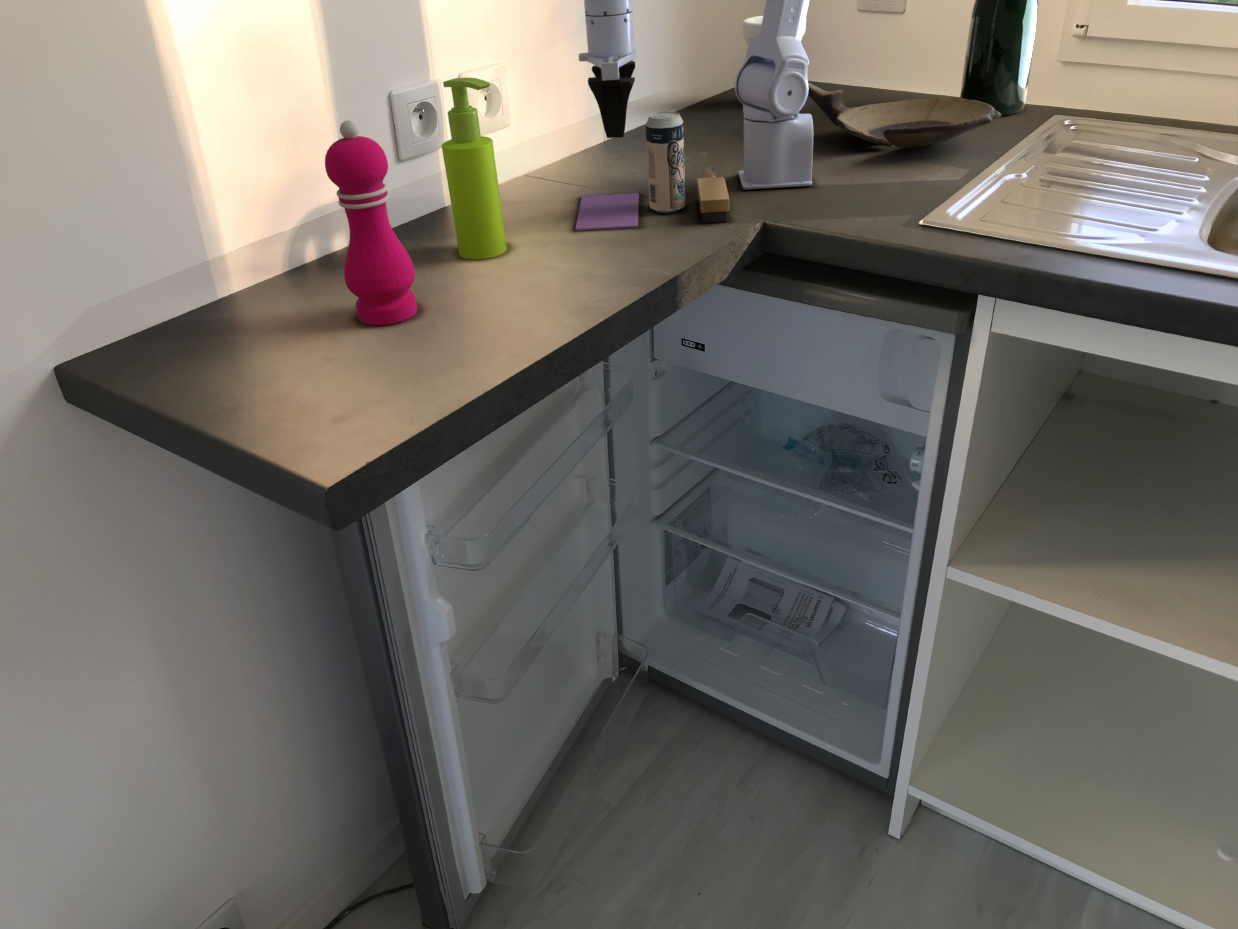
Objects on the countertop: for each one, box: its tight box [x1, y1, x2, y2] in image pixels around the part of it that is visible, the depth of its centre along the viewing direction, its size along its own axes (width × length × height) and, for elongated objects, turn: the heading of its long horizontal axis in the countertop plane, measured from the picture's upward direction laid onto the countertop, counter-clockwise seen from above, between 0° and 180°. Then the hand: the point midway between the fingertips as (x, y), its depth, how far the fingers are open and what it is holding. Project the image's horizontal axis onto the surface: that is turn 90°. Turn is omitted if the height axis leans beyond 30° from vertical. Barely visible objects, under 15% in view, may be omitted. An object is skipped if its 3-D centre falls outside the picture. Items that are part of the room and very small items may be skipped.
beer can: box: [645, 111, 686, 214], centre depth 122 cm, size 5×5×12 cm
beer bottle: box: [959, 0, 1039, 116], centre depth 150 cm, size 10×10×33 cm
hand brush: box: [696, 165, 730, 224], centre depth 125 cm, size 4×16×3 cm, turn 178°
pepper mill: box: [324, 119, 418, 326], centre depth 95 cm, size 7×7×20 cm
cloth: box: [575, 192, 640, 232], centre depth 125 cm, size 8×14×1 cm, turn 178°
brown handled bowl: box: [808, 82, 1002, 148], centre depth 144 cm, size 22×30×8 cm
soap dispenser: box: [441, 77, 508, 261], centre depth 110 cm, size 6×7×20 cm
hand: (616, 129), depth 120 cm, fingers open, 7 cm apart
